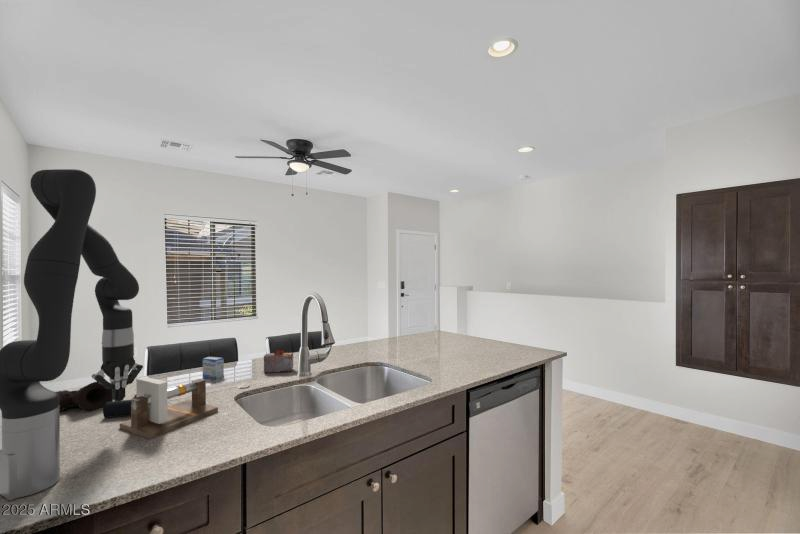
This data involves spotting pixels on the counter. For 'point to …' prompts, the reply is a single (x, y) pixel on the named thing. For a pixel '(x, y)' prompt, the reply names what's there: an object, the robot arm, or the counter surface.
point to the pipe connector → (117, 408)
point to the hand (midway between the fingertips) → (119, 400)
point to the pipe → (86, 397)
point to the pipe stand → (169, 414)
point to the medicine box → (213, 367)
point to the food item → (278, 361)
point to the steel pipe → (173, 392)
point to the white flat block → (154, 397)
